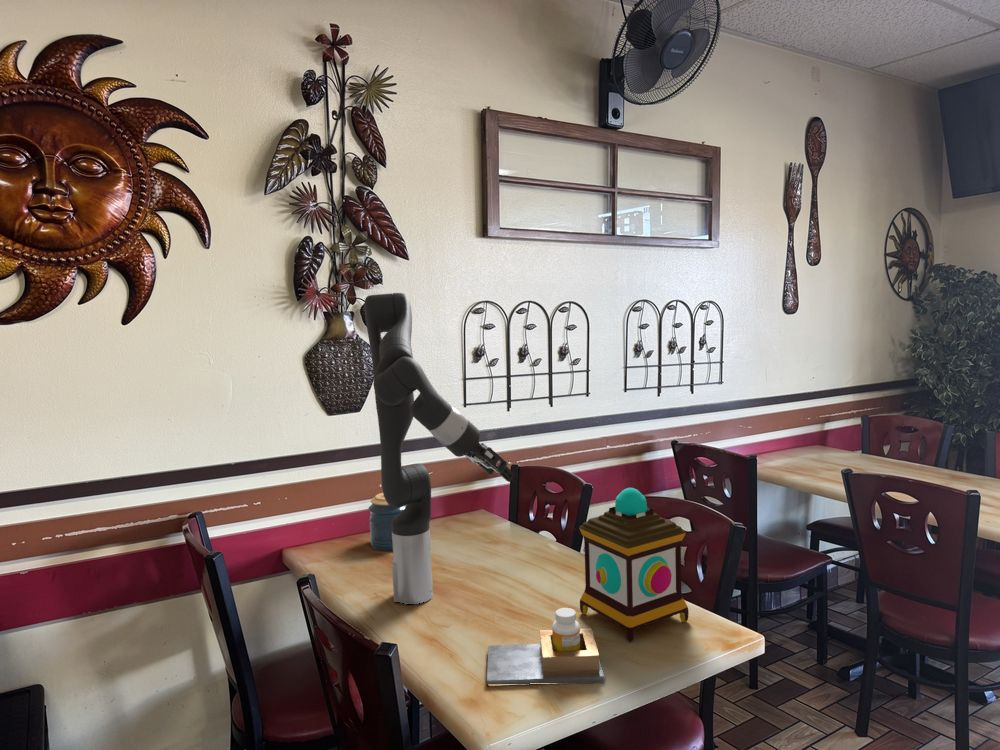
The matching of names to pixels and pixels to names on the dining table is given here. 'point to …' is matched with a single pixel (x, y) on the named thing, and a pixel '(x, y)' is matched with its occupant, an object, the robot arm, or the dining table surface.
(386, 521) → the canister
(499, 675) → the jig
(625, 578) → the decorative lantern
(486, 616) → the dining table surface
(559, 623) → the supplement bottle
